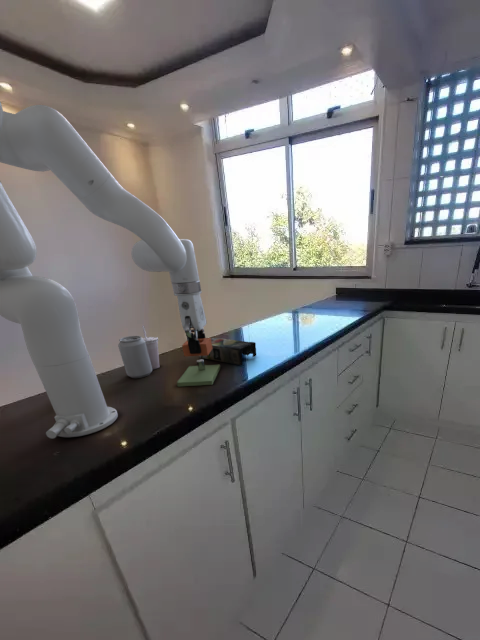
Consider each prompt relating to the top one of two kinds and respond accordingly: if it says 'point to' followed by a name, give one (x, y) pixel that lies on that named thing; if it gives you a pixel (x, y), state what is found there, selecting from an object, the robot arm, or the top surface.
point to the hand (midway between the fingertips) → (198, 349)
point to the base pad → (199, 374)
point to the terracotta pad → (204, 345)
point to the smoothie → (152, 349)
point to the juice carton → (230, 350)
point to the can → (135, 356)
